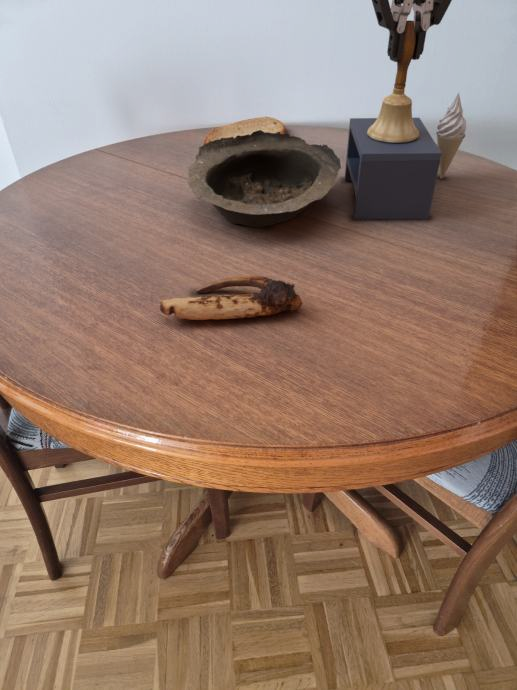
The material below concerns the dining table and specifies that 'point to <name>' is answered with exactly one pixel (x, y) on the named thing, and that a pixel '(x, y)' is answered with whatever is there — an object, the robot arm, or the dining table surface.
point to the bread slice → (246, 128)
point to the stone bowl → (262, 176)
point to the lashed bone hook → (235, 300)
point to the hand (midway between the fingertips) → (404, 59)
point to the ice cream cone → (450, 134)
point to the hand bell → (398, 101)
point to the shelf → (391, 173)
